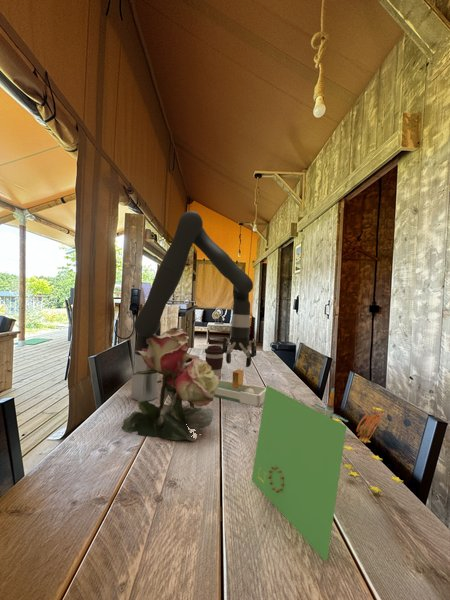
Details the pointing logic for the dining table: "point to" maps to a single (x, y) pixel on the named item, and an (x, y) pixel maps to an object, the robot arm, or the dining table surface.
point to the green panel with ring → (304, 462)
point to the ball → (250, 391)
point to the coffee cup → (214, 358)
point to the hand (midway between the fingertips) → (238, 365)
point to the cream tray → (241, 393)
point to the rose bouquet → (174, 389)
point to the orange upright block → (237, 381)
